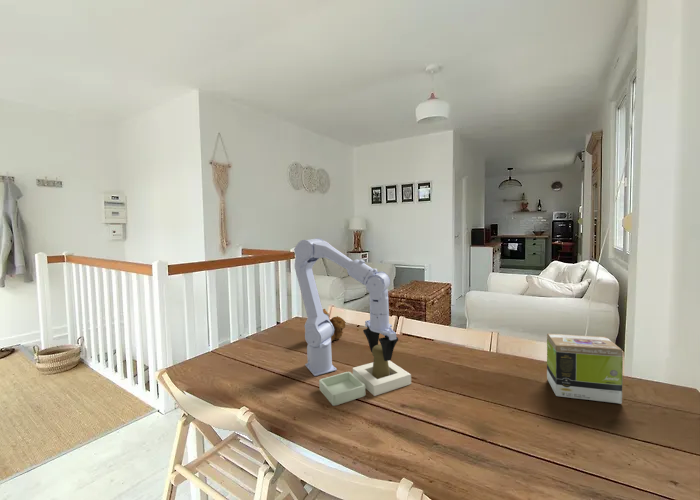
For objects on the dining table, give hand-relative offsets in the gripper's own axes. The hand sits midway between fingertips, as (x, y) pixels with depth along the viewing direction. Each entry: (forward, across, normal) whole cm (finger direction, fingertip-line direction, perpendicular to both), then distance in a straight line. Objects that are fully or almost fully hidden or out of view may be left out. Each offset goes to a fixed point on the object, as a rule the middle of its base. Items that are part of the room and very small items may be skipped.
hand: (380, 355), depth 99 cm
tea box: (+8, -34, -44) cm, 56 cm away
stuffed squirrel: (+8, +40, 0) cm, 41 cm away
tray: (+8, 0, +14) cm, 16 cm away
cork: (+8, 0, 0) cm, 8 cm away
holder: (+8, 0, 0) cm, 8 cm away
